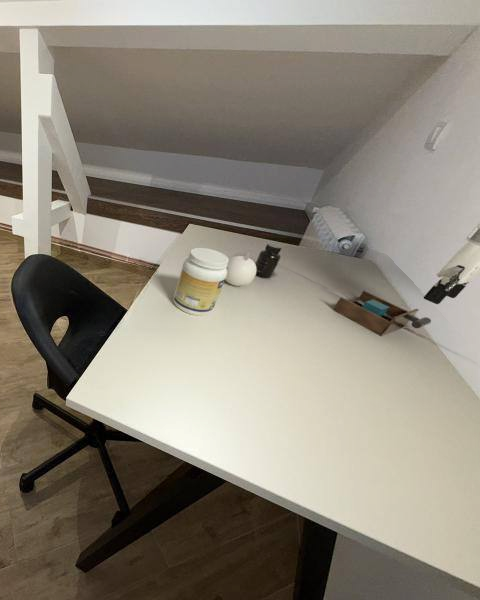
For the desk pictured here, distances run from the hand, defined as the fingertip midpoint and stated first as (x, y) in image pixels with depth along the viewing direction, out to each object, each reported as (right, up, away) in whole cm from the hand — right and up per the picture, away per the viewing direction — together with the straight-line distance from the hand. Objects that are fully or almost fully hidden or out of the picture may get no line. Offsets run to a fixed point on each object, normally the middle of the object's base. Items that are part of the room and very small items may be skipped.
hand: (438, 298), depth 84 cm
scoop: (-4, -7, +13) cm, 16 cm away
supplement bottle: (-28, +9, +35) cm, 45 cm away
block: (-5, -5, +15) cm, 16 cm away
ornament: (-42, +5, +26) cm, 50 cm away
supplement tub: (-62, -2, +12) cm, 64 cm away
